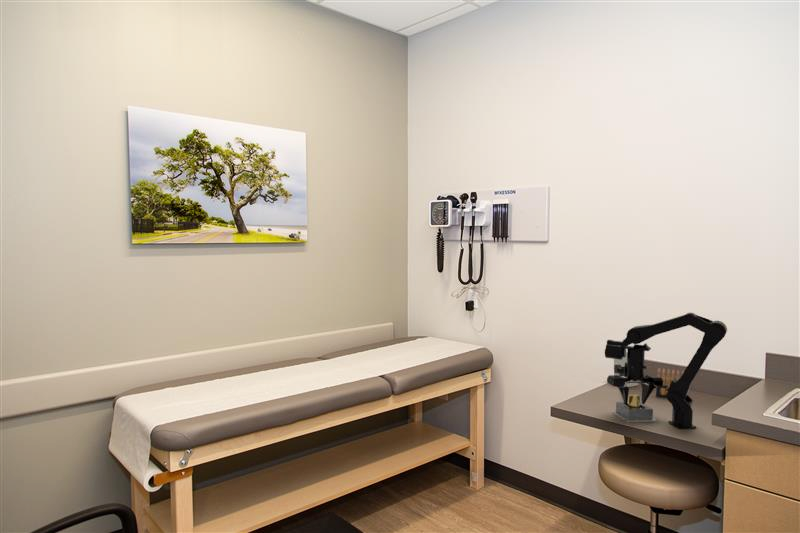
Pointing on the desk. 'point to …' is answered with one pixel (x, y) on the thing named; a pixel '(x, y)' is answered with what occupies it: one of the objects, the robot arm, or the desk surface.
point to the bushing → (633, 401)
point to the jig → (634, 413)
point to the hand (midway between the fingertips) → (634, 403)
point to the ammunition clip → (665, 382)
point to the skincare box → (622, 363)
